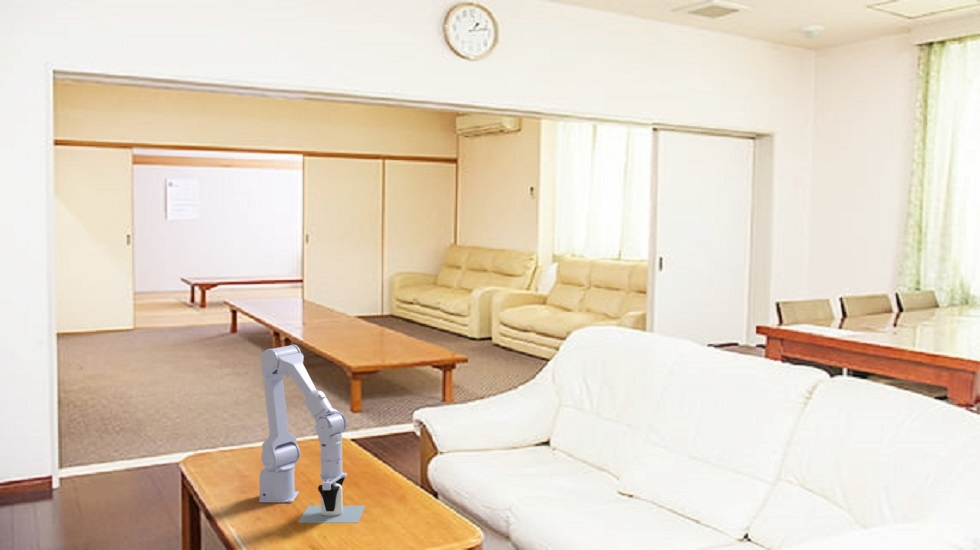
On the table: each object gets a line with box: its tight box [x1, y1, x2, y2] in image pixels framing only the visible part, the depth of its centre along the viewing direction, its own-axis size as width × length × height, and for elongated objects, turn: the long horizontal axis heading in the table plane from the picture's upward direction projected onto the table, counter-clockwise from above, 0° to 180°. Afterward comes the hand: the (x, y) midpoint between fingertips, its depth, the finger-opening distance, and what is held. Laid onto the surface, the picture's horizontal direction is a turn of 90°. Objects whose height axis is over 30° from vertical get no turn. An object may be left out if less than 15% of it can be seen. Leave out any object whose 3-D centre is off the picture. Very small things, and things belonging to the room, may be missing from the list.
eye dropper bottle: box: [320, 482, 344, 516], centre depth 221 cm, size 4×6×12 cm
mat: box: [297, 505, 366, 524], centre depth 221 cm, size 16×12×1 cm
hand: (332, 506), depth 221 cm, fingers open, 5 cm apart
